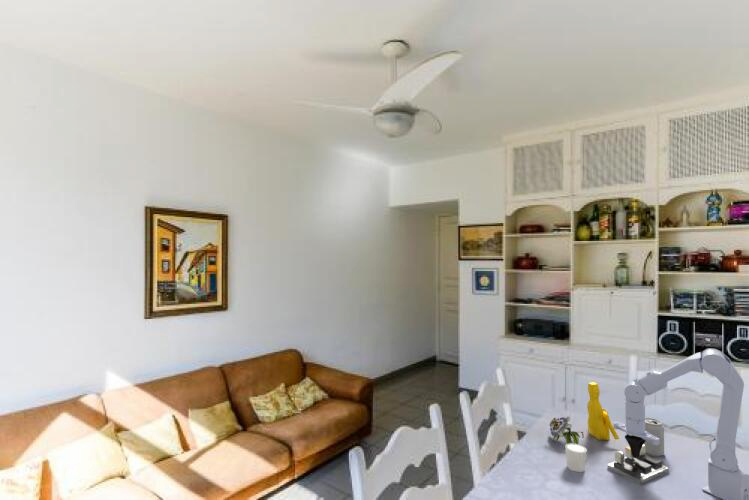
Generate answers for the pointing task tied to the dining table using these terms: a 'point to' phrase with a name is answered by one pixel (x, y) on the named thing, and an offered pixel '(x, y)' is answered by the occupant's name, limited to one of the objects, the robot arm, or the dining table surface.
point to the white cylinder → (576, 457)
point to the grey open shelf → (638, 467)
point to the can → (658, 431)
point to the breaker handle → (628, 453)
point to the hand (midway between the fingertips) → (635, 456)
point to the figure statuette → (598, 416)
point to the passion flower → (563, 430)
